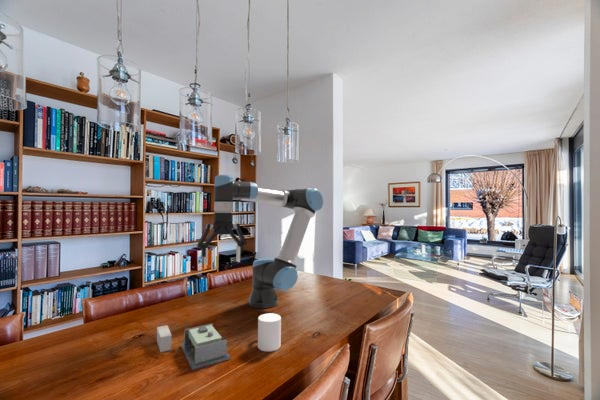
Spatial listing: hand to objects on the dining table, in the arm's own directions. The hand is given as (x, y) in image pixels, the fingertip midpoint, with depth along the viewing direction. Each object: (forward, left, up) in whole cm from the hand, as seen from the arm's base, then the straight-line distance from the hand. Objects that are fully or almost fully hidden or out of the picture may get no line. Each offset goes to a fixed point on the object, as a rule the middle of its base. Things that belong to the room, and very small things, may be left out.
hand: (222, 263), depth 117 cm
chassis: (+16, -11, -27) cm, 33 cm away
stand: (+3, -22, -27) cm, 35 cm away
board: (+16, -11, -23) cm, 30 cm away
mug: (+22, +10, -27) cm, 36 cm away
